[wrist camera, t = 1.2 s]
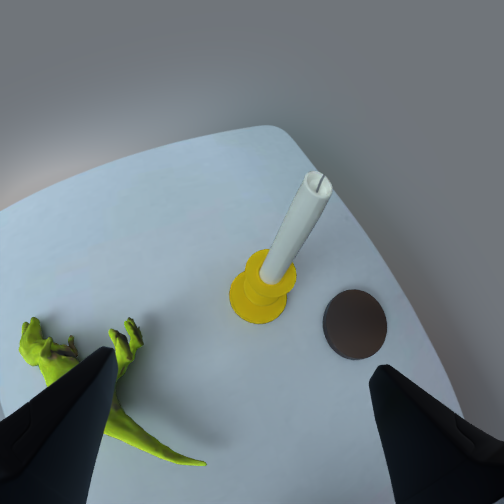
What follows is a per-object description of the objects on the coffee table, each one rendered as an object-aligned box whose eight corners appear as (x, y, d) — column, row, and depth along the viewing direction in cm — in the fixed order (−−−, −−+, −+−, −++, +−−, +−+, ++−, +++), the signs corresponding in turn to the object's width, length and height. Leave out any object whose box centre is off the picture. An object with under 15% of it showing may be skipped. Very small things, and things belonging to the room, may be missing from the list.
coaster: (392, 341, 25) (396, 339, 24) (340, 372, 23) (344, 371, 22) (365, 283, 27) (368, 280, 27) (311, 305, 25) (314, 303, 25)
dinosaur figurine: (234, 355, 22) (245, 344, 17) (203, 464, 17) (203, 489, 12) (46, 280, 21) (15, 251, 16) (12, 369, 16) (-27, 358, 11)
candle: (296, 300, 25) (391, 192, 12) (255, 336, 23) (333, 248, 10) (259, 260, 27) (314, 127, 13) (217, 291, 24) (238, 158, 11)
